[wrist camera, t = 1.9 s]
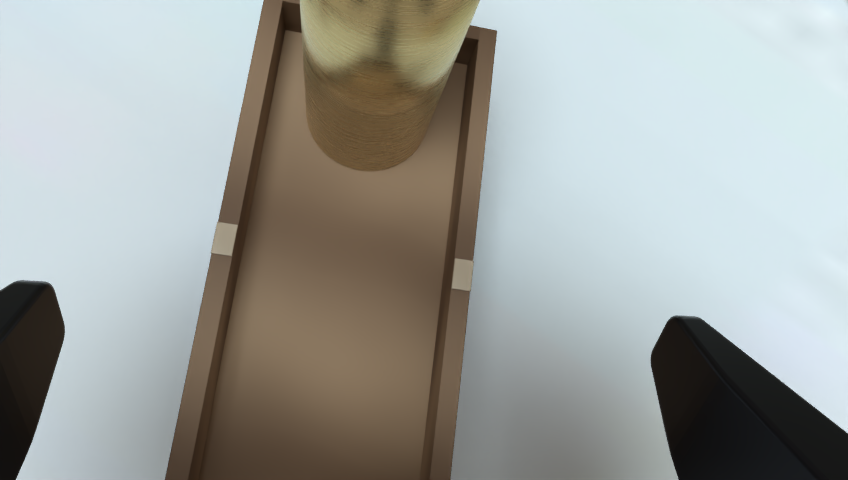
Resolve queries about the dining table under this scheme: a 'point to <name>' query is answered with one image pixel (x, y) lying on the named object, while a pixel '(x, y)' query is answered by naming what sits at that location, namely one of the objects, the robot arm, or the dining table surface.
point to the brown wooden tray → (334, 288)
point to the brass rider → (377, 73)
